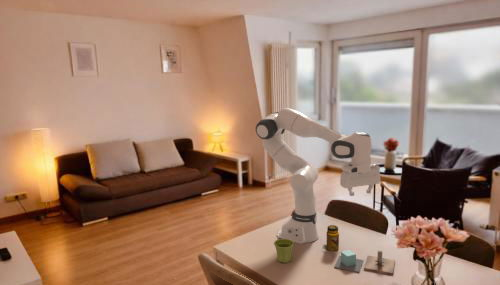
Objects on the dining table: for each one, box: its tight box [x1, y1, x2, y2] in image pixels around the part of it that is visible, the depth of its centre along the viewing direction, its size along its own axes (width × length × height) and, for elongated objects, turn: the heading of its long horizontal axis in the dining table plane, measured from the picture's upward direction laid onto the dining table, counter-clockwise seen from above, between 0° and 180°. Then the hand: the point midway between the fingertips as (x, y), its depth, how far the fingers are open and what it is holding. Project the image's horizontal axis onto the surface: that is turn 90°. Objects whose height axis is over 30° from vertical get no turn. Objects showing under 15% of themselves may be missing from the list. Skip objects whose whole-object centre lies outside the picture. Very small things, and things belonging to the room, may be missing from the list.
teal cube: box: [340, 249, 357, 266], centre depth 161 cm, size 5×5×5 cm
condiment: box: [321, 224, 341, 254], centre depth 176 cm, size 7×8×12 cm
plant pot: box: [273, 238, 295, 264], centre depth 167 cm, size 9×9×9 cm
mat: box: [333, 255, 364, 274], centre depth 161 cm, size 11×11×1 cm
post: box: [363, 250, 396, 276], centre depth 159 cm, size 12×12×7 cm
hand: (360, 194), depth 167 cm, fingers open, 8 cm apart
